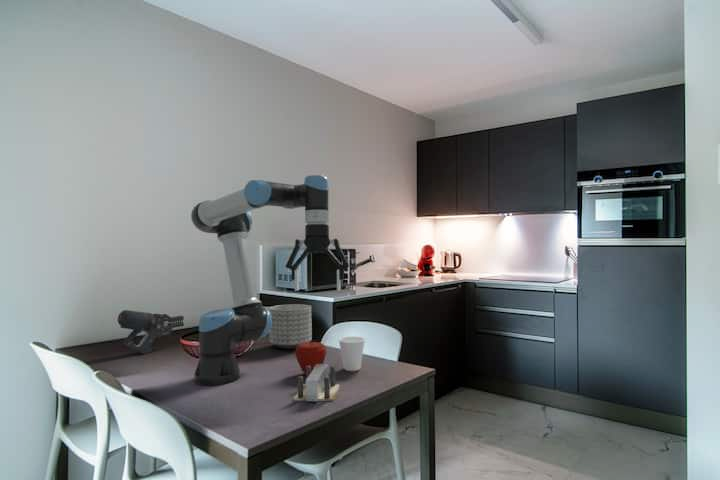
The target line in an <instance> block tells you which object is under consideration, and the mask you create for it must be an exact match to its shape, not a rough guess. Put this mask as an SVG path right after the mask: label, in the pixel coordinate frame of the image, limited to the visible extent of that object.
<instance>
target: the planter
mask: <svg viewBox="0 0 720 480" xmlns="http://www.w3.org/2000/svg"><path fill="white" fill-rule="evenodd" d="M268 311H269V312H270V314H271V318H272V324H271V329H270V330H269V343H271V344H272V345H276V346H277V347H279V348H281V349H285V350H294V349H295V350H296V348H297V347H298V346H299V345H300V344H301V343H304V342H311V341H312V340H313V339H312V338H313V336H312V335H313V332H312V331H313V327H312V326H313V325H312V324H313V323H312V319H313V318H312V305H309V304H301V303H299V304H296V303H295V304H293V303H290V304H280V305H273V306H270V307H269V308H268Z"/></svg>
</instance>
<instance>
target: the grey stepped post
mask: <svg viewBox="0 0 720 480" xmlns="http://www.w3.org/2000/svg"><path fill="white" fill-rule="evenodd" d="M324 377H329V378H330V373H329V363H323V364H316V365H315V367H314V368H313V371H312V372H311V374H310V375H309V376H308V378H307V379H306V378H305V384H306V401H305V402H319V401H318V400H319V398H320V396H321V394H322V392H323V391H324Z"/></svg>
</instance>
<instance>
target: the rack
mask: <svg viewBox="0 0 720 480" xmlns="http://www.w3.org/2000/svg"><path fill="white" fill-rule="evenodd" d="M329 371H330V372H329V377H324V391H323V392H322V394H321V396H320V398H319V400H318V401H317V402H334V400H335V398H336V395H337V394H338V392H339V389H340V384H338V383H337V384H336V366H334V365H332V366H329ZM310 374H311V366H306V374H305V380H306V379H307V378H308V376H309V375H310ZM292 401H300V402H301V401H302V402H303V401H305V402H307V401H306V383H304V376H301V375H300V376H297V392H296V393H295V395H294V396H293V398H292Z"/></svg>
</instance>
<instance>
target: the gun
mask: <svg viewBox="0 0 720 480" xmlns="http://www.w3.org/2000/svg"><path fill="white" fill-rule="evenodd" d="M184 318H185V317H184V315H177V316H170V315H168V314H167V313H163V314H161V313H153V314H152V313H150V312H142V311H137V310H130V309H124V310H122V311H121V312H119V313H118V316H117V323H118V325H119V326H120V327H119V328H121V329H126V330H127V329H128V330H132V331H131V332H130V333H129V334H128V335H127V337H126V338H125V339H124V341H123V342H122V344H123V345H125V346H127V347H128V348H130V349H132V350H134V351H136V352H138V353H140V354H141V355H147V354H150V353H152V350H153V349H152V348H153V346H154V345H155V343H156V342H157V340H159V339H160V338H161V337H165V336H169V335H170V334H171V332H172V330H173V329H174V328H180V327H181V328H182V327H184V325H185V322H184ZM141 332H144V333H145V335H144V336H143V337H142V339H141V340H140V342H139V343H138V344H134V340H135V338H136V337H137V336H138V334H141Z"/></svg>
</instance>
